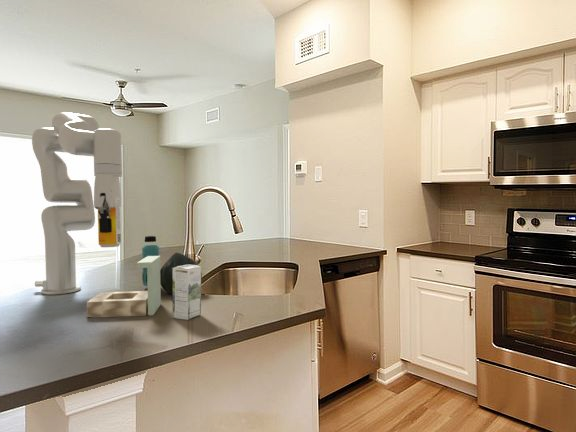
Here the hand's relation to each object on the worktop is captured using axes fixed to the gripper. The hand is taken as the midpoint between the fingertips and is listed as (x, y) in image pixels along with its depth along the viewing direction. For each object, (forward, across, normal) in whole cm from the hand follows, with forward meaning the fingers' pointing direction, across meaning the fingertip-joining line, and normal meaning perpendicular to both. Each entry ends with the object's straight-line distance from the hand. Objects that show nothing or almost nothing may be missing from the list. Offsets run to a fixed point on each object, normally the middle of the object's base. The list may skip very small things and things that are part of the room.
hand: (109, 231), depth 117 cm
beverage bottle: (+24, -31, +4) cm, 40 cm away
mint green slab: (+24, 0, +11) cm, 27 cm away
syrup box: (+25, +9, +23) cm, 35 cm away
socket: (+24, 0, +3) cm, 24 cm away
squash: (+24, -23, +17) cm, 38 cm away
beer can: (+5, 0, 0) cm, 5 cm away
